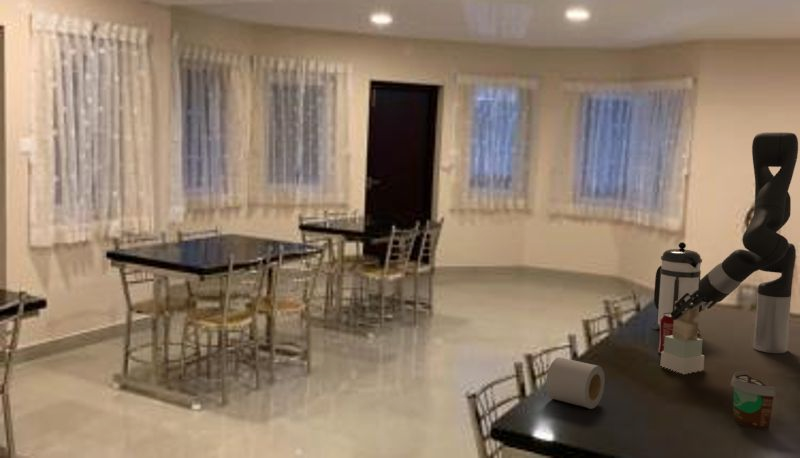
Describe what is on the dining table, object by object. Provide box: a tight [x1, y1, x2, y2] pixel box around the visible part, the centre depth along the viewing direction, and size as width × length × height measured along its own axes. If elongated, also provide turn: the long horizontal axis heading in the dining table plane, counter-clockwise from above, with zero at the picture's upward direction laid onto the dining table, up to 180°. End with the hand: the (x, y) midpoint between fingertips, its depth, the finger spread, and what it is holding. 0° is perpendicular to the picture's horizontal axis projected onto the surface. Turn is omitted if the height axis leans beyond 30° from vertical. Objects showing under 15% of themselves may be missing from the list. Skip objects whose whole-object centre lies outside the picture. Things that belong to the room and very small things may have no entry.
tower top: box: [664, 335, 704, 358], centre depth 218 cm, size 7×7×4 cm
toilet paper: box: [545, 356, 606, 410], centre depth 186 cm, size 10×10×10 cm
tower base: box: [659, 351, 705, 375], centre depth 218 cm, size 8×8×4 cm
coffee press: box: [652, 241, 703, 335], centre depth 261 cm, size 17×16×30 cm
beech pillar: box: [673, 301, 700, 341], centre depth 217 cm, size 4×4×10 cm
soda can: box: [657, 313, 674, 354], centre depth 233 cm, size 7×7×12 cm
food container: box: [730, 370, 776, 430], centre depth 177 cm, size 12×6×10 cm, turn 5°
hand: (681, 315), depth 218 cm, fingers open, 6 cm apart
